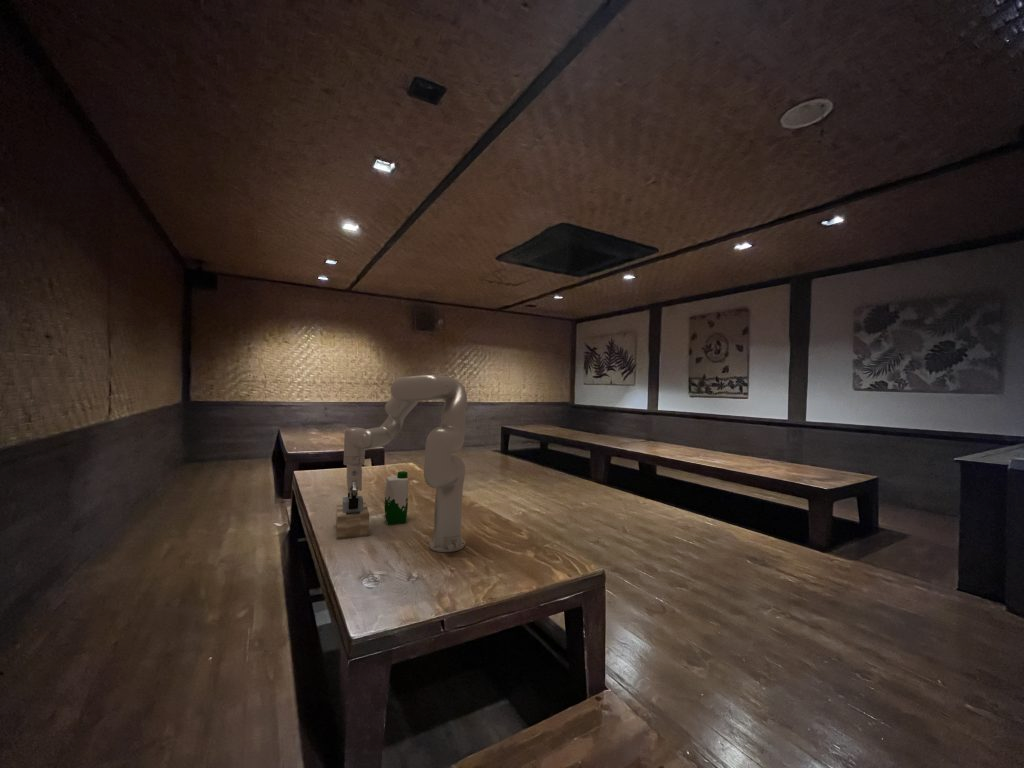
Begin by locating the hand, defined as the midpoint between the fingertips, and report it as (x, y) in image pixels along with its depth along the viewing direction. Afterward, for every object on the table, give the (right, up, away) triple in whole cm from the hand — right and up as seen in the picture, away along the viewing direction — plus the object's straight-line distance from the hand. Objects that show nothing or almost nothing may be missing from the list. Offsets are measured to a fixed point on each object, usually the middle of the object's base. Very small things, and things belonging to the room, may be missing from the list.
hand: (352, 505), depth 151 cm
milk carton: (+13, -10, +12) cm, 20 cm away
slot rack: (0, -10, 0) cm, 10 cm away
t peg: (0, -8, 0) cm, 8 cm away
